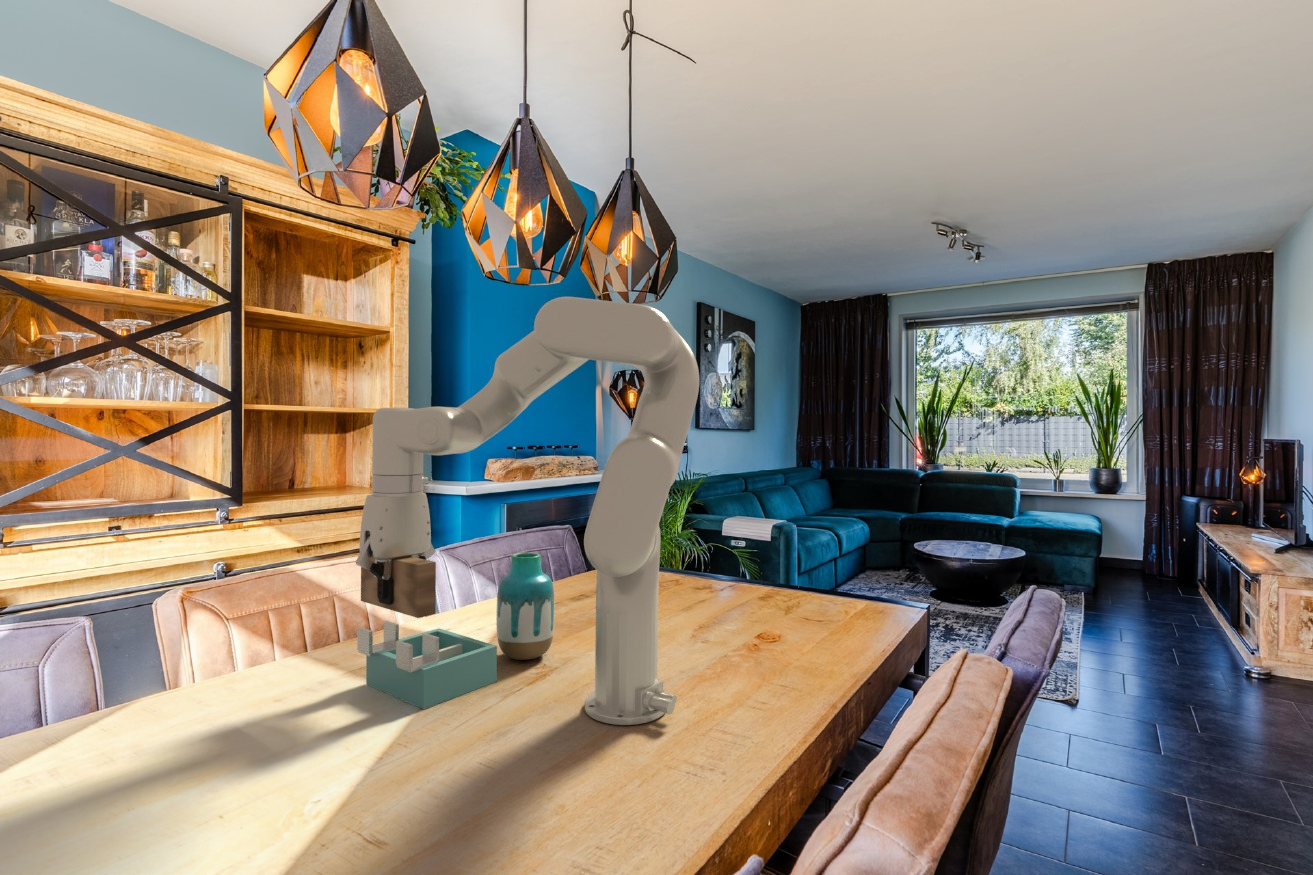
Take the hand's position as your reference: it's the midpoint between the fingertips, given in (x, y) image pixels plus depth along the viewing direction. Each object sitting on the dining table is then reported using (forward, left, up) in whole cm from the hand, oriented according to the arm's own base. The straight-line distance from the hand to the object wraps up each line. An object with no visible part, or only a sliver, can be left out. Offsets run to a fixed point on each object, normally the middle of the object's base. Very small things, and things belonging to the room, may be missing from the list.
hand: (396, 599), depth 105 cm
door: (0, 0, -1) cm, 1 cm away
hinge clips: (0, 0, -9) cm, 9 cm away
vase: (-3, -25, -15) cm, 29 cm away
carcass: (0, -7, -15) cm, 17 cm away
